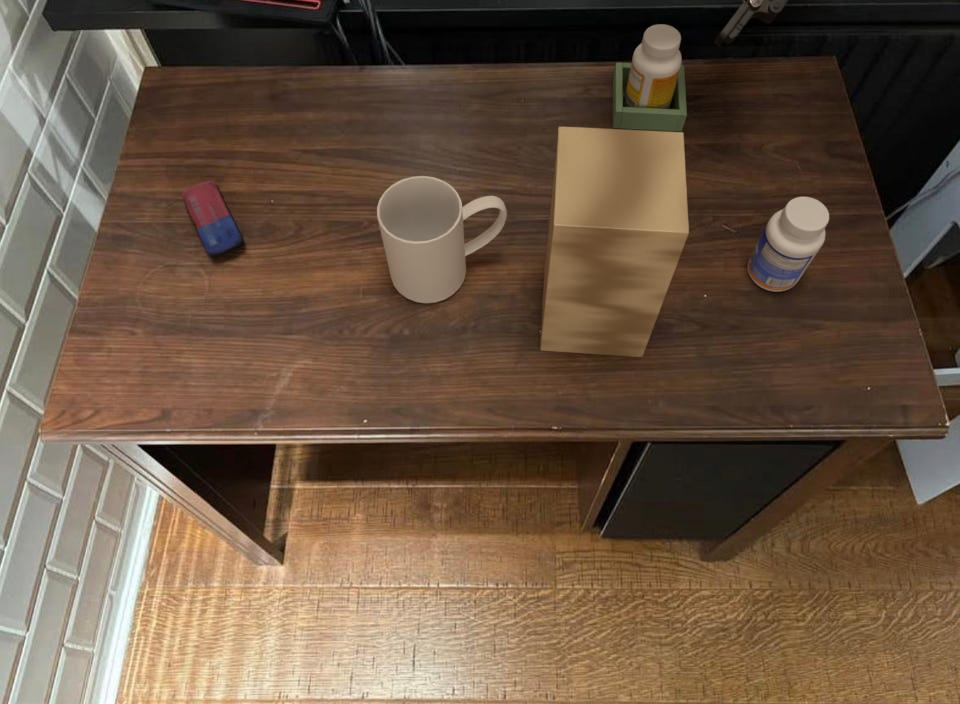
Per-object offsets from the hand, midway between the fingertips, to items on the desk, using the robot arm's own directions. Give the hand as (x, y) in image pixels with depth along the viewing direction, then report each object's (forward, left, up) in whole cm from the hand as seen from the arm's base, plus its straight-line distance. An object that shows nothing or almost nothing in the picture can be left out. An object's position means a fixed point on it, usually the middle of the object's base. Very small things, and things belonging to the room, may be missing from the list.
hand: (682, 14), depth 69 cm
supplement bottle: (0, -7, -18) cm, 19 cm away
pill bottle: (-12, +16, -18) cm, 27 cm away
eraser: (+47, +14, -18) cm, 52 cm away
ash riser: (+6, +22, -18) cm, 29 cm away
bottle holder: (0, -7, -18) cm, 19 cm away
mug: (+21, +18, -18) cm, 33 cm away
